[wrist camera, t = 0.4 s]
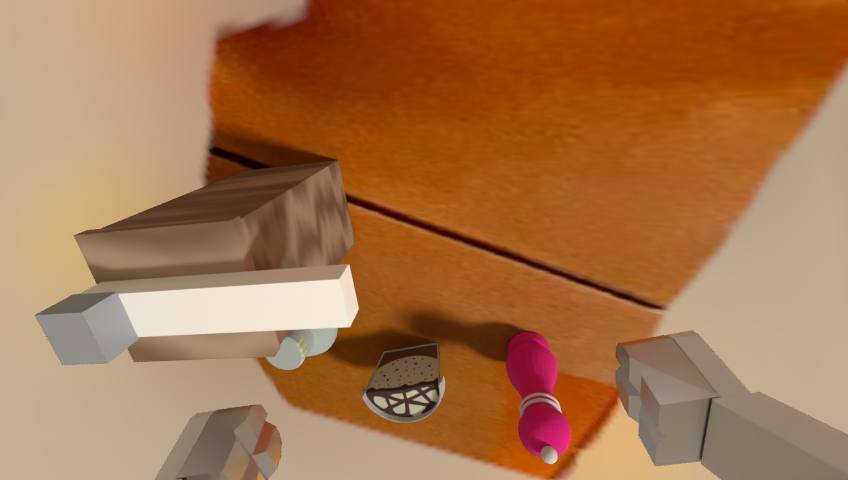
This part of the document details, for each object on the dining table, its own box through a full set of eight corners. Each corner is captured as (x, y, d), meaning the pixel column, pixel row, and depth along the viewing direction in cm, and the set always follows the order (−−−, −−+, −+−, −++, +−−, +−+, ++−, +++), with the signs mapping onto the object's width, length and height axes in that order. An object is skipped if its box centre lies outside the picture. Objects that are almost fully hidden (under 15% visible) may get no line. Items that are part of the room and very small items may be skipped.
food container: (386, 382, 68) (372, 429, 59) (374, 352, 66) (358, 397, 57) (456, 371, 65) (454, 419, 56) (447, 341, 63) (442, 385, 54)
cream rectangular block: (100, 279, 34) (34, 315, 29) (348, 261, 31) (323, 298, 25) (120, 324, 35) (62, 365, 30) (359, 311, 32) (338, 354, 27)
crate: (243, 168, 56) (73, 235, 32) (337, 157, 54) (230, 220, 30) (267, 250, 61) (133, 361, 37) (355, 243, 59) (274, 356, 35)
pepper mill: (549, 368, 63) (581, 487, 45) (503, 366, 64) (515, 482, 46) (553, 329, 60) (588, 439, 42) (504, 327, 61) (518, 435, 43)
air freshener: (338, 291, 62) (314, 328, 53) (346, 336, 65) (325, 378, 56) (272, 292, 64) (238, 329, 55) (283, 336, 67) (253, 377, 58)
